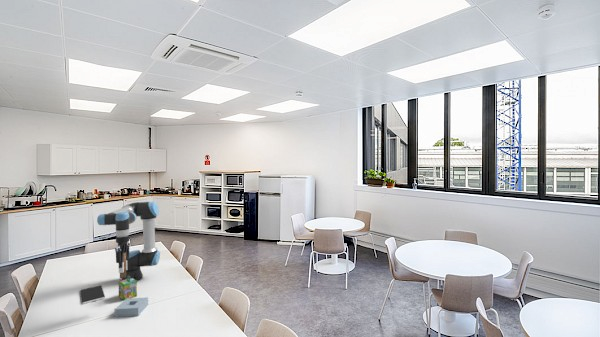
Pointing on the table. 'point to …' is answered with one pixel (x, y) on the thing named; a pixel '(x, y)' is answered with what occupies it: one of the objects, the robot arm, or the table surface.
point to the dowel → (123, 275)
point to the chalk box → (127, 288)
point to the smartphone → (92, 294)
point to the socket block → (131, 307)
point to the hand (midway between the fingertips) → (123, 271)
